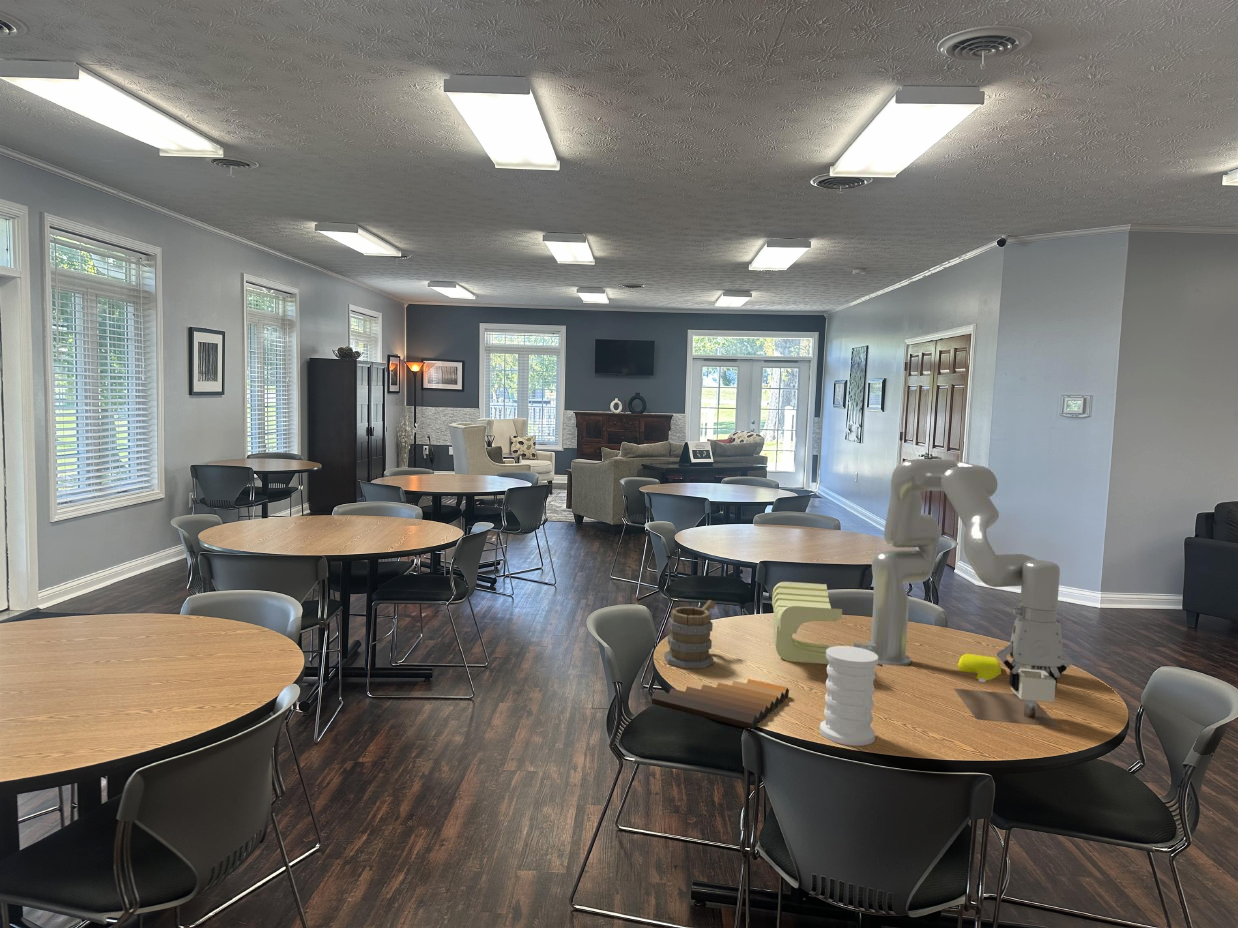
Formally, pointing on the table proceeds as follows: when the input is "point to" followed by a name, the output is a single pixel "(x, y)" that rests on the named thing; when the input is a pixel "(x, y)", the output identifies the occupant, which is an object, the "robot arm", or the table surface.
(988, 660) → the spray bottle
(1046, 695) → the collar
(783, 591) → the slatted curved stool
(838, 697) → the decorative container
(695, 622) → the tankard
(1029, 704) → the post
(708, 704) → the pan flute
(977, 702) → the board
